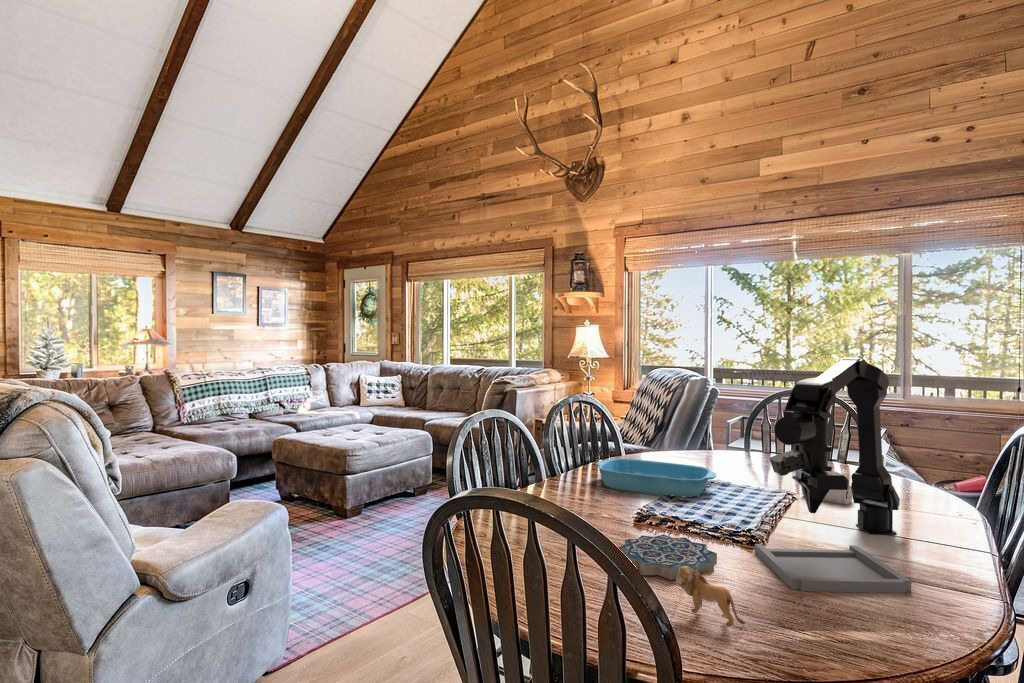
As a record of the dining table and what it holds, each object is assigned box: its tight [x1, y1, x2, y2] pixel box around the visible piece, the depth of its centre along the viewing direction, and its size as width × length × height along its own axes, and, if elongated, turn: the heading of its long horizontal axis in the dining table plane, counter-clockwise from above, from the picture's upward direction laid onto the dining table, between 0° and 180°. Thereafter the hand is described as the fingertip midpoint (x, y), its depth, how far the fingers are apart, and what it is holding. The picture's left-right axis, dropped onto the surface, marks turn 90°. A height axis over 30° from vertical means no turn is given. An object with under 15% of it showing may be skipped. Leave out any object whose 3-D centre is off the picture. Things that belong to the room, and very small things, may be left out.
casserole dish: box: [596, 457, 717, 498], centre depth 187 cm, size 37×22×7 cm, turn 64°
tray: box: [754, 543, 912, 594], centre depth 121 cm, size 22×20×2 cm
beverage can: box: [801, 484, 853, 506], centre depth 172 cm, size 6×6×12 cm
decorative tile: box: [617, 534, 718, 581], centre depth 128 cm, size 20×20×2 cm
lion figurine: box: [675, 566, 746, 628], centre depth 102 cm, size 12×4×7 cm, turn 49°
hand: (812, 512), depth 128 cm, fingers closed
